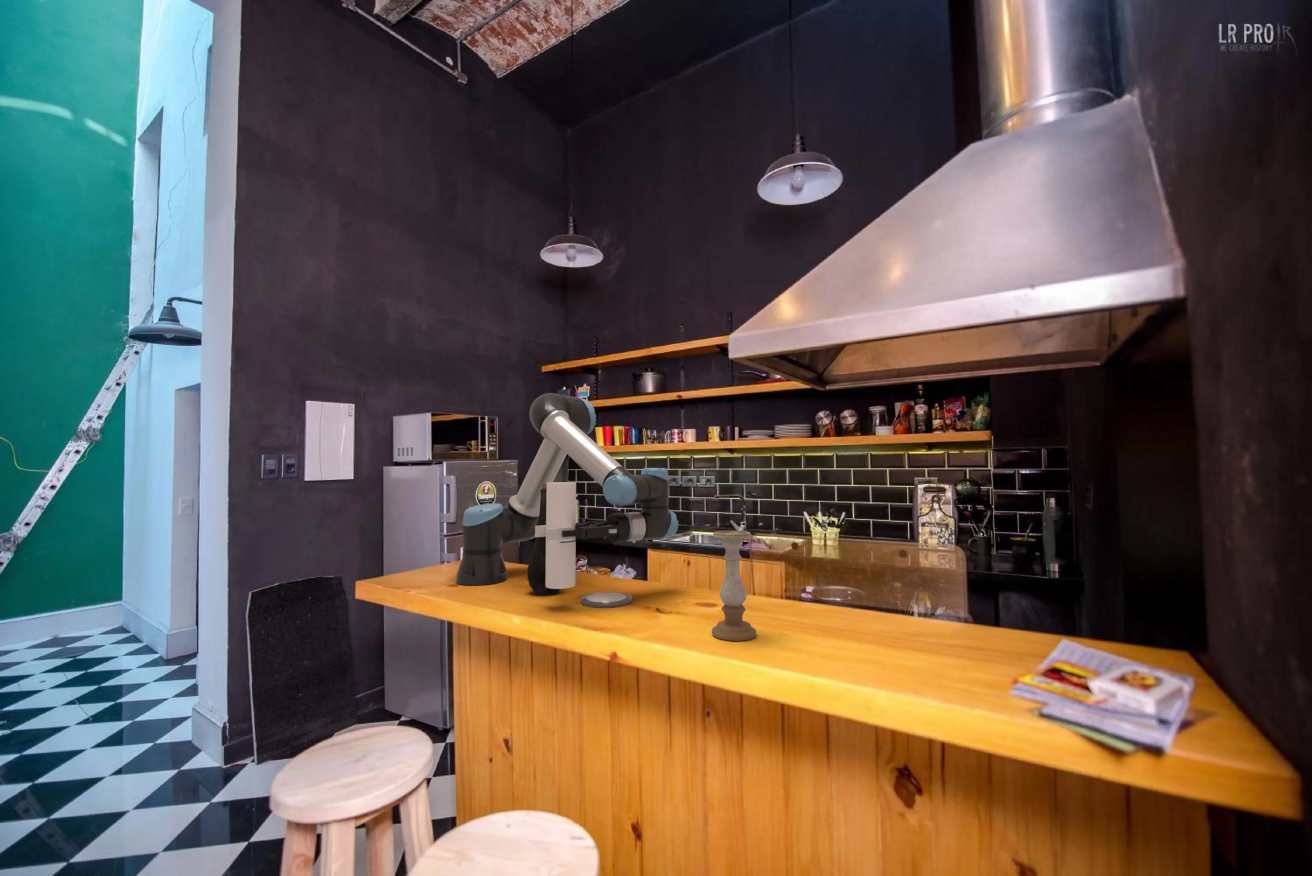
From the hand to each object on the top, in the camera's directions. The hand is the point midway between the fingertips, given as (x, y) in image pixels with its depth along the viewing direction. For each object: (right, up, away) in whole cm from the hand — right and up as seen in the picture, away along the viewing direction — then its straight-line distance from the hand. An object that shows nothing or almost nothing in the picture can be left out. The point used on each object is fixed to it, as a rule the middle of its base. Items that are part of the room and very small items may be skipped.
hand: (541, 532), depth 126 cm
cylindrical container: (+4, -13, +2) cm, 14 cm away
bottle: (-3, -20, +19) cm, 28 cm away
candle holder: (+43, -17, -21) cm, 51 cm away
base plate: (+15, -19, +8) cm, 25 cm away
